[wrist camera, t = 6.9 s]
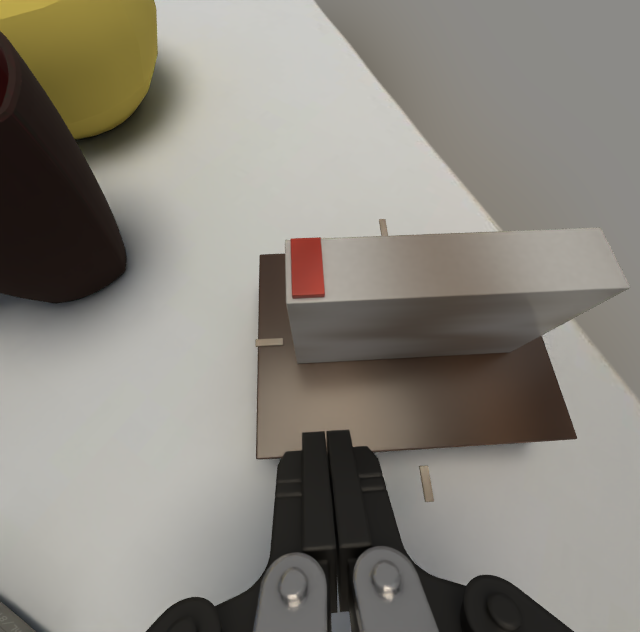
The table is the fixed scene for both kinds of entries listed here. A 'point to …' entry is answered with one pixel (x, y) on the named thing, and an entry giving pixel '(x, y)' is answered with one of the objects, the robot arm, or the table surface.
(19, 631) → the cosmetic box
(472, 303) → the red-tipped metal bar
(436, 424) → the brown rectangular plinth
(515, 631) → the robot arm
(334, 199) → the table surface
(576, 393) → the table surface
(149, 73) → the vase
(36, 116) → the mug
